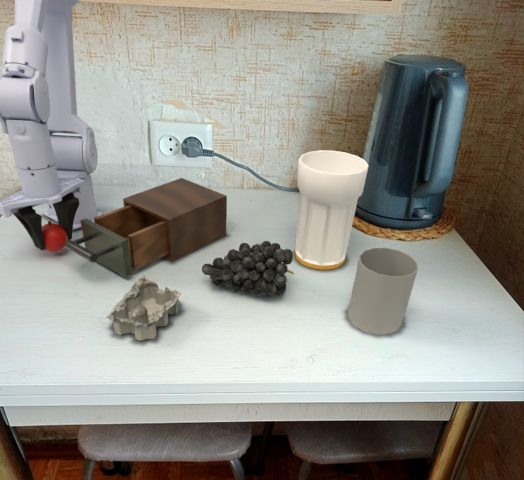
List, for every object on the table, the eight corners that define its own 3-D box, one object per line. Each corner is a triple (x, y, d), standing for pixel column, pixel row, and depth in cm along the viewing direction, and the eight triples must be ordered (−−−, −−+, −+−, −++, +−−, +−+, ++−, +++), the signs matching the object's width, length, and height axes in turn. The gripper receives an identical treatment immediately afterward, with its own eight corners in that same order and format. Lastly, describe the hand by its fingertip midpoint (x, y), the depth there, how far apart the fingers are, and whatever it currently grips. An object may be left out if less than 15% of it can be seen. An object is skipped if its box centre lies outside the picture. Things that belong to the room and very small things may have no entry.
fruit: (196, 238, 77) (295, 248, 75) (209, 231, 84) (299, 240, 83) (194, 294, 80) (289, 305, 78) (207, 282, 87) (294, 292, 86)
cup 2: (389, 341, 75) (405, 283, 68) (339, 321, 78) (349, 264, 71) (409, 314, 80) (425, 258, 74) (361, 297, 83) (373, 242, 77)
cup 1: (335, 240, 99) (350, 148, 88) (361, 269, 90) (381, 172, 79) (280, 245, 96) (288, 151, 85) (302, 276, 87) (314, 176, 76)
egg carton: (146, 295, 80) (144, 272, 78) (187, 308, 78) (186, 285, 76) (103, 331, 73) (99, 307, 70) (148, 346, 71) (145, 323, 68)
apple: (35, 250, 88) (27, 220, 84) (59, 240, 91) (53, 212, 87) (51, 259, 86) (44, 230, 82) (76, 250, 89) (70, 221, 85)
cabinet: (171, 262, 89) (169, 219, 83) (127, 240, 94) (122, 198, 89) (226, 235, 97) (227, 195, 92) (183, 216, 103) (181, 177, 98)
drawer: (102, 289, 80) (96, 252, 75) (62, 265, 84) (54, 229, 80) (185, 249, 91) (184, 215, 87) (146, 230, 96) (142, 197, 91)
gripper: (5, 183, 72) (28, 266, 81) (91, 159, 81) (103, 236, 90) (-21, 169, 75) (4, 251, 84) (64, 147, 84) (78, 223, 93)
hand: (53, 242), depth 87 cm, fingers closed on apple, 4 cm apart
